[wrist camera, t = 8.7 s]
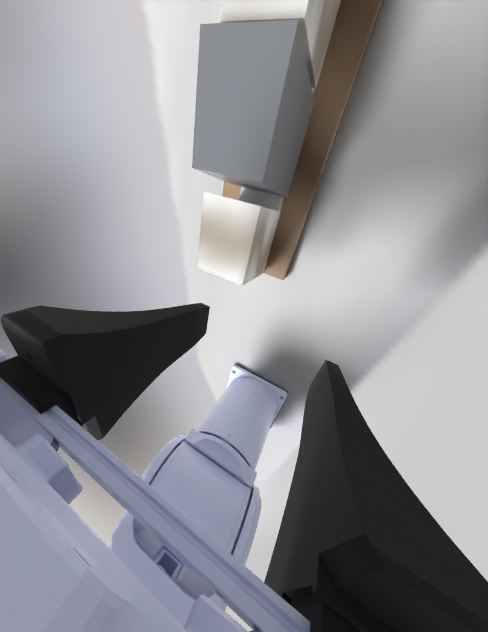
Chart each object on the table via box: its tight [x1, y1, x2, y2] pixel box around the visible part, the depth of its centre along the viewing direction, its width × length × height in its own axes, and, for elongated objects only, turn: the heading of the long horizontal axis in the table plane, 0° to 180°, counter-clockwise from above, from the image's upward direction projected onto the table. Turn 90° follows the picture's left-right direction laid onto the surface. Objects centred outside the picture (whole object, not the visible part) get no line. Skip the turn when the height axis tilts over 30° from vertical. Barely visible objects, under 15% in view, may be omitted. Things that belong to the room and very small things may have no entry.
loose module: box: [192, 20, 314, 198], centre depth 11 cm, size 5×4×6 cm
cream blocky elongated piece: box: [197, 0, 383, 285], centre depth 12 cm, size 17×8×6 cm, turn 166°
